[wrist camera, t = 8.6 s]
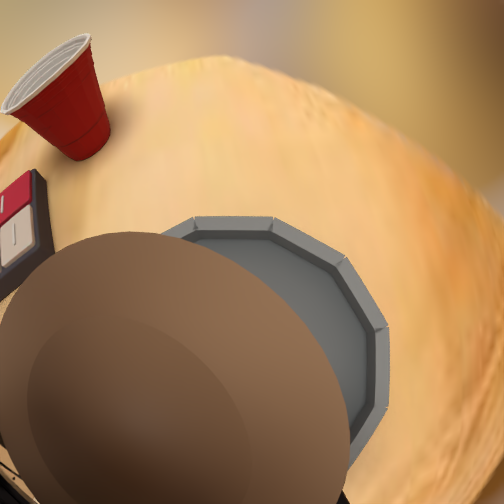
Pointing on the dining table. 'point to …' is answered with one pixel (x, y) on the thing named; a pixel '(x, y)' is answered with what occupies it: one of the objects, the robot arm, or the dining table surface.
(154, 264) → the bead spool
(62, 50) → the plastic cup
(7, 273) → the calculator
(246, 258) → the round tray
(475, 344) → the dining table surface
